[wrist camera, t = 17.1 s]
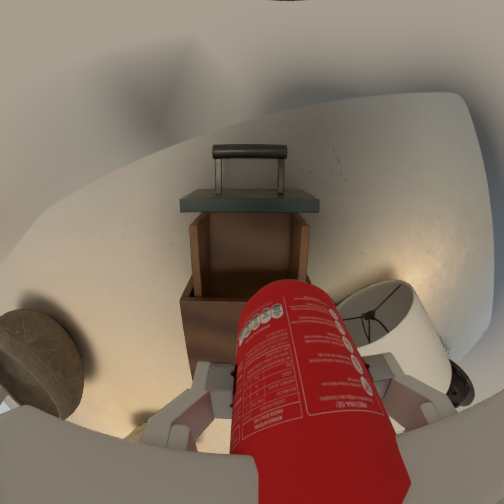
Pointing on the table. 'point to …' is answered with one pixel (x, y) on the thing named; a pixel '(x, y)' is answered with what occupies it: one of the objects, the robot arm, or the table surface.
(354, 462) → the beverage can
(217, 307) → the cabinet
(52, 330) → the bowl
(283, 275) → the drawer
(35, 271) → the table surface
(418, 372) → the light fixture
